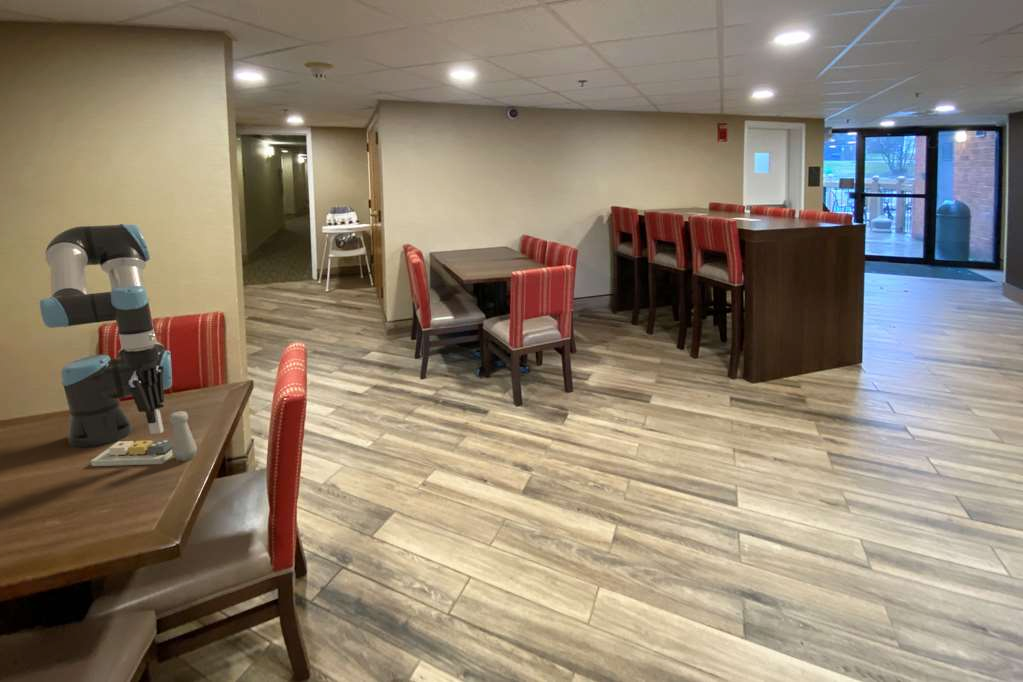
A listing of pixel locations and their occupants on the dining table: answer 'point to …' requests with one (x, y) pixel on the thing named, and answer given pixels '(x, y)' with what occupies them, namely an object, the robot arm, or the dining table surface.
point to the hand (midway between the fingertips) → (157, 432)
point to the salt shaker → (182, 437)
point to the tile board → (129, 459)
